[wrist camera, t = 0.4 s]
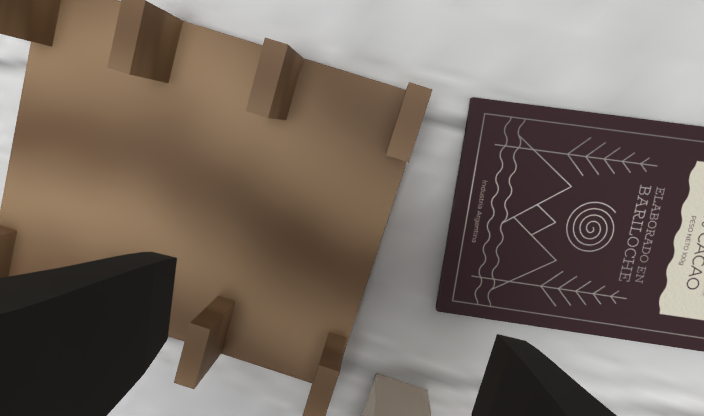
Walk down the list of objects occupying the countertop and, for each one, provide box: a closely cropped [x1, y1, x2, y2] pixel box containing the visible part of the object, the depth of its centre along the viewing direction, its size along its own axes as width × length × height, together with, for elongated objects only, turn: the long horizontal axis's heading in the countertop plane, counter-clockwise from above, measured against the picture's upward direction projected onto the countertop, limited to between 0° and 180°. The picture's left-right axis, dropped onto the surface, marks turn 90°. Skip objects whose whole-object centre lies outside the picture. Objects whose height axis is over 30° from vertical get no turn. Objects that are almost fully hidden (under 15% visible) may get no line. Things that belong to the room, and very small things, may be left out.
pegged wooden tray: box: [0, 0, 432, 416], centre depth 19 cm, size 13×16×4 cm
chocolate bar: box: [436, 98, 704, 351], centre depth 20 cm, size 9×1×18 cm
